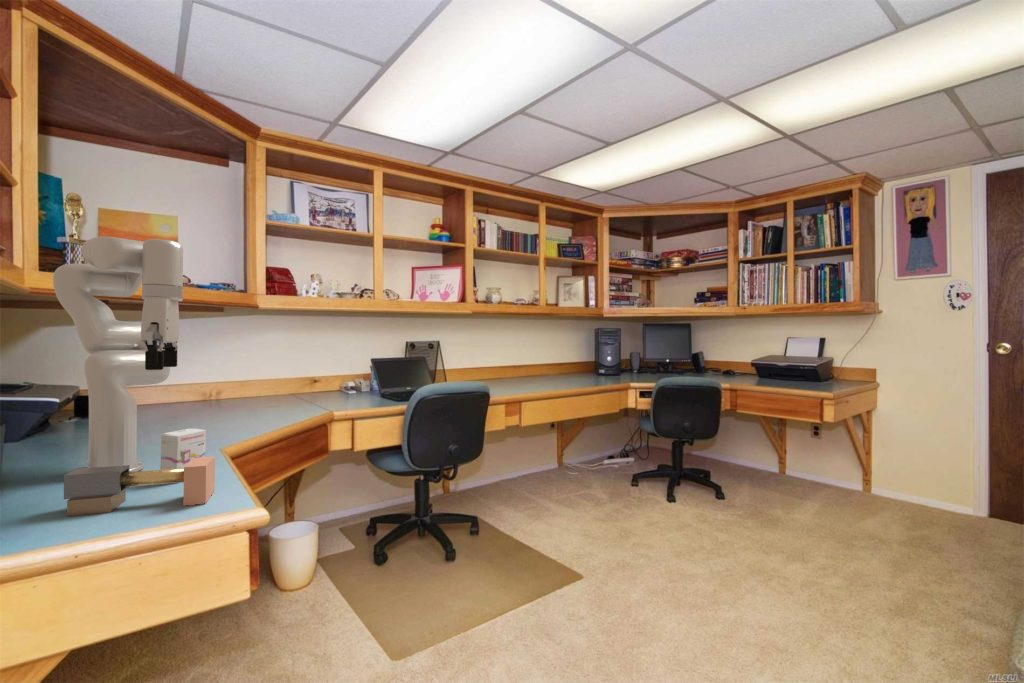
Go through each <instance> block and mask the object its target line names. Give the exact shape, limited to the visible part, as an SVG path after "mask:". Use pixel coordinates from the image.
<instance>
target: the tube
mask: <svg viewBox="0 0 1024 683" xmlns="http://www.w3.org/2000/svg"><path fill="white" fill-rule="evenodd" d="M178 483H179V484H180V483H184V468H178V469H164V470H160V469H152V470H139V471H136V472H122V473H121V487H129V488H131V487H139V486H140V487H142V486H154V485H166V484H178Z"/></svg>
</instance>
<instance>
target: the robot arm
mask: <svg viewBox="0 0 1024 683" xmlns="http://www.w3.org/2000/svg"><path fill="white" fill-rule="evenodd" d="M81 255H82V257H83V259H84V260H85V262H87V263H79V262H78V263H65V264H63V265H60V266H58V267H57V268H56V269H55V270H54V272H53V276H52V277H53V278H52V284H53V289H54V294H55V295H56V299H57V300H58V302H59V303H60V305H61V306H62V308H63V309H64V310H65V312H66V313H67V314H68V315H69V317H70V318H71V319H72V320H73V324H74V327H75V329H76V332H77V334H78V338H79V340H80V342H81V345H82V347H83V349H85V351H86V352H87V353H88V354H90V355H88V356H87V357H86V358H85V361H84V365H83V370H84V376H85V380H86V386H87V391H88V392H87V394H88V395H87V396H88V454H87V455H88V456H87V457H86V459H87V461H88V466H87V467H86V468H95V467H110V466H125V465H129V472H136V471H142V470H143V469H144V468H145V466H144V465H145V464H144V462H142V461H139V460H137V456H138V455H137V448H138V447H137V446H138V445H137V441H138V404H137V401H136V398H135V397H134V396H133V395H132V394H131V393H130V392H129V391H128V390H127V389H126V387H134V386H145V385H146V386H147V385H149V386H150V385H156V384H160V383H163V382H165V381H166V380H167V379H168V378H169V375H170V371H171V368H176V367H178V342H179V341H178V340H179V336H180V313H179V312H180V309H179V302H183V300H184V298H183V297H184V296H183V295H184V294H183V293H184V289H183V288H184V285H183V284H184V249H183V246H182V244H181V243H179V242H177V241H175V240H170V239H162V238H149V239H146V240H144V241H143V240H142V241H141V240H136V239H135V240H134V239H130V238H129V239H128V238H124V237H123V238H122V237H115V236H102V235H100V236H99V235H98V236H97V237H92V238H90V239H88V240H86V241H85V242H84V243H83V245H82V247H81ZM140 287H141V300H143V305H142V314H141V322H139V321H124V320H123V321H122V320H117V318H116V317H115V315H114V312H113V310H112V309H111V308H110V307H109V306H108V305H107V304H106V303H105V302H103V301H102V300H101V299H99V298H97V297H96V296H100V297H102V296H103V297H115V298H128V297H133V295H135V294H136V293H137V291H138V290H139V288H140Z"/></svg>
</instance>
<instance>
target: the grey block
mask: <svg viewBox="0 0 1024 683" xmlns="http://www.w3.org/2000/svg"><path fill="white" fill-rule="evenodd" d="M122 472H129V465H125V466H110V467H95V468H87V467H83V468H82V467H81V468H76V469H73V470H71V471H70V472H67V473H66V474H64V475H63V500H67V501H66V517H75V516H83V515H84V516H85V515H95V514H107V513H106V512H108V513H112V512H113V511H115V510H116V509H118V508H119V506H121V505H122V504H124V502H126V501H125V500H126V499H127V498H126V490H128V489H129V488H130V487H121V473H122ZM121 503H122V504H121ZM120 504H121V505H120ZM115 508H116V509H115Z"/></svg>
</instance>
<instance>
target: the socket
mask: <svg viewBox="0 0 1024 683" xmlns="http://www.w3.org/2000/svg"><path fill="white" fill-rule="evenodd" d="M215 473H216V456H205V457H201V458H194V459H193V460H192V461H191V462H189V463H188V464H187V465H186V466H185V467H184V482H183V507H186V506H185V505H189V506H196V505H195V504H200V505H205V504H204V503H206V502H207V503H208V502H209V500H210V499H211V498H212V496H213V495H214V494H215V492H214V491H215V490H216V489H215V488H216V483H215V482H216V474H215ZM213 493H214V494H213ZM212 494H213V495H212ZM211 495H212V496H211ZM209 498H210V499H209ZM207 503H206V504H207Z"/></svg>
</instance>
